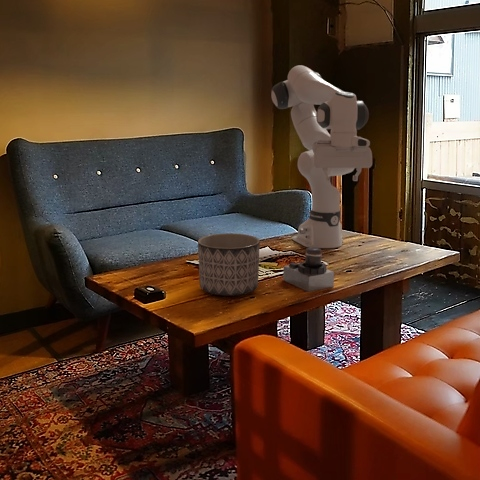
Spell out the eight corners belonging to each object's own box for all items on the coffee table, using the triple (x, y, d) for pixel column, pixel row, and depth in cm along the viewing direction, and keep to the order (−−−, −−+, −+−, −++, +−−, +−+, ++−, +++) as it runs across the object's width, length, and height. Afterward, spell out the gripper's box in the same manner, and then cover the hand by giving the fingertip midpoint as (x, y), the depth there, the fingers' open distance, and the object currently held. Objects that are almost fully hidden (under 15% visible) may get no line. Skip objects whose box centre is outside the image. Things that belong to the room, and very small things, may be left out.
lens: (304, 272, 199) (305, 250, 197) (305, 267, 204) (306, 246, 202) (320, 273, 198) (321, 251, 197) (320, 269, 203) (322, 247, 202)
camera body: (283, 280, 208) (283, 260, 206) (307, 275, 213) (307, 256, 211) (308, 291, 196) (309, 271, 195) (333, 286, 201) (334, 266, 200)
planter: (211, 304, 185) (211, 251, 181) (190, 285, 202) (189, 236, 198) (269, 295, 193) (270, 244, 189) (244, 278, 210) (244, 231, 206)
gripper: (314, 141, 209) (312, 182, 213) (374, 141, 210) (372, 182, 213) (311, 139, 215) (310, 179, 219) (370, 139, 216) (368, 179, 219)
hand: (341, 180), depth 216 cm, fingers open, 8 cm apart
